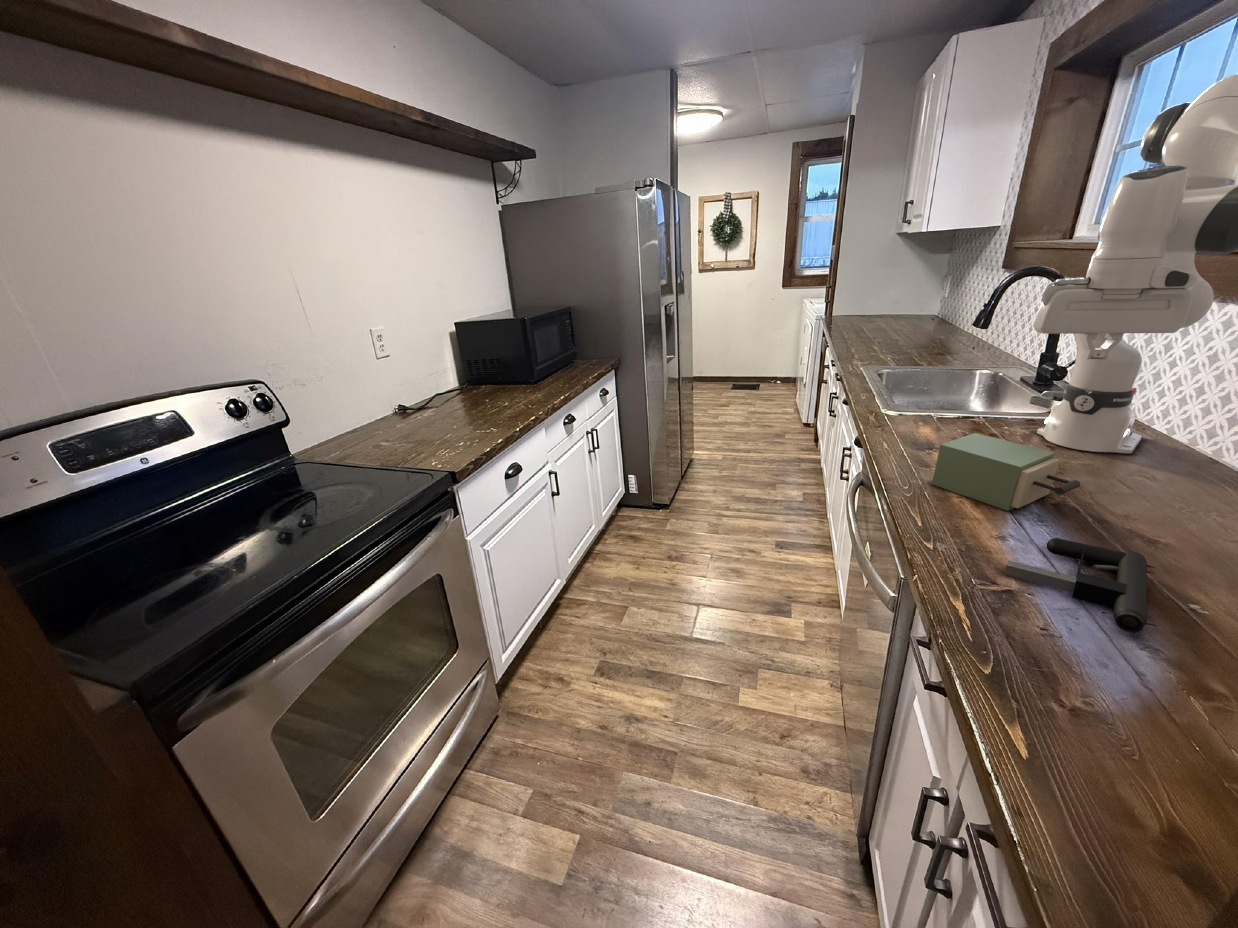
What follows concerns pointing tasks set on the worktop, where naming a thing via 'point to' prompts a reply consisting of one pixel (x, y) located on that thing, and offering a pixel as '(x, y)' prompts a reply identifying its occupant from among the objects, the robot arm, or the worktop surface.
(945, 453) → the cabinet
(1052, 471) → the drawer
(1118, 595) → the door handle
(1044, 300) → the robot arm
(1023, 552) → the worktop surface
